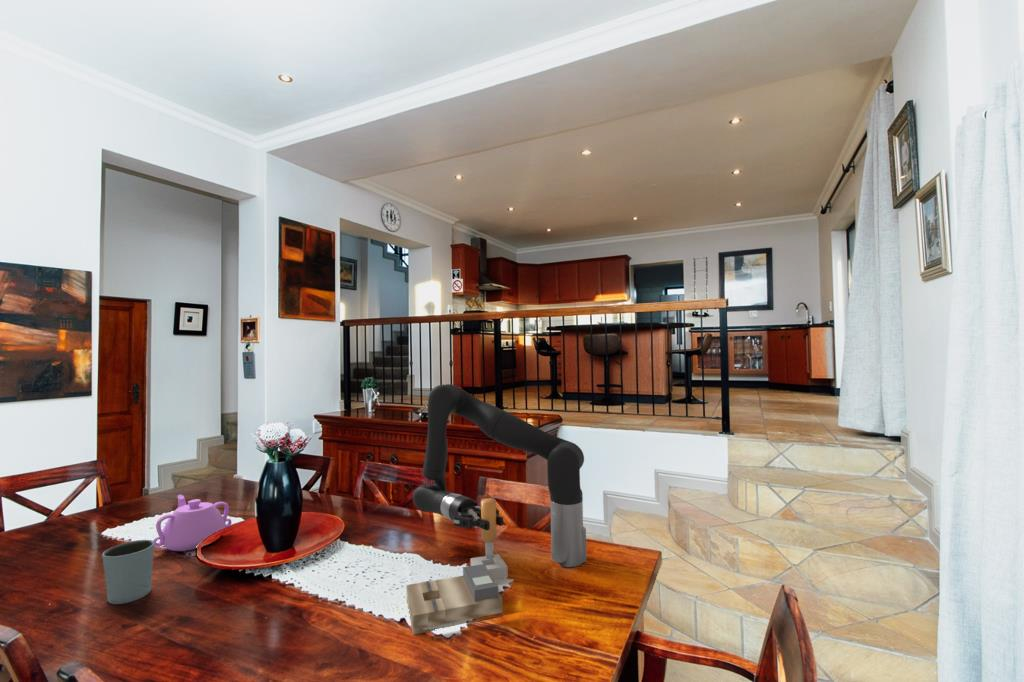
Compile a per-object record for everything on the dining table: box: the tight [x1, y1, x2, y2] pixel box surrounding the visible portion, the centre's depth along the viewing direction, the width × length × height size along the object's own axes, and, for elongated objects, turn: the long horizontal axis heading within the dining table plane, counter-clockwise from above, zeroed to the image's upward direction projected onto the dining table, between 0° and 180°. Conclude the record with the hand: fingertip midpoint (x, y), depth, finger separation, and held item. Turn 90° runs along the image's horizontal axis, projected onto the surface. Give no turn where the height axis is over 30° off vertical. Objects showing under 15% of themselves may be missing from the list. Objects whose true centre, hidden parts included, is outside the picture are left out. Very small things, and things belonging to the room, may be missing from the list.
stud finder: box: [462, 564, 499, 601], centre depth 111 cm, size 6×12×3 cm, turn 18°
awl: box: [480, 497, 498, 559], centre depth 125 cm, size 4×4×15 cm
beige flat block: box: [406, 575, 504, 635], centre depth 109 cm, size 20×14×4 cm
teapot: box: [152, 494, 233, 552], centre depth 151 cm, size 22×22×14 cm
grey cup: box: [101, 539, 155, 605], centre depth 118 cm, size 10×10×12 cm
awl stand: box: [470, 553, 509, 581], centre depth 124 cm, size 8×8×4 cm
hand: (495, 524), depth 123 cm, fingers closed on awl, 4 cm apart
